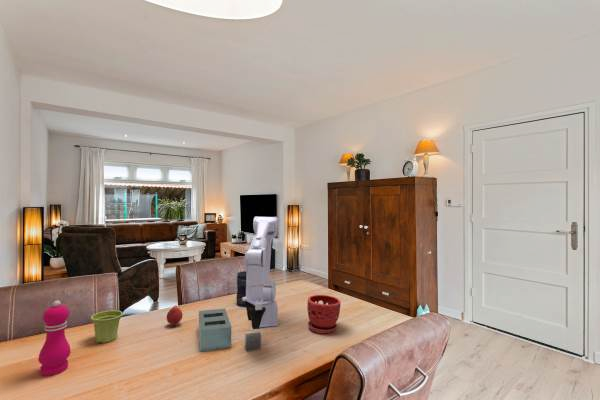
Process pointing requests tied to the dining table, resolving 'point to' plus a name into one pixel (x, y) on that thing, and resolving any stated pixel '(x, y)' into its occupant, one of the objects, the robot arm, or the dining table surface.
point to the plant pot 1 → (106, 325)
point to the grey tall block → (252, 341)
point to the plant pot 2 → (323, 313)
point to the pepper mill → (55, 341)
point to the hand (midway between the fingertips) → (253, 324)
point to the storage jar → (241, 288)
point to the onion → (174, 316)
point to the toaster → (214, 330)
